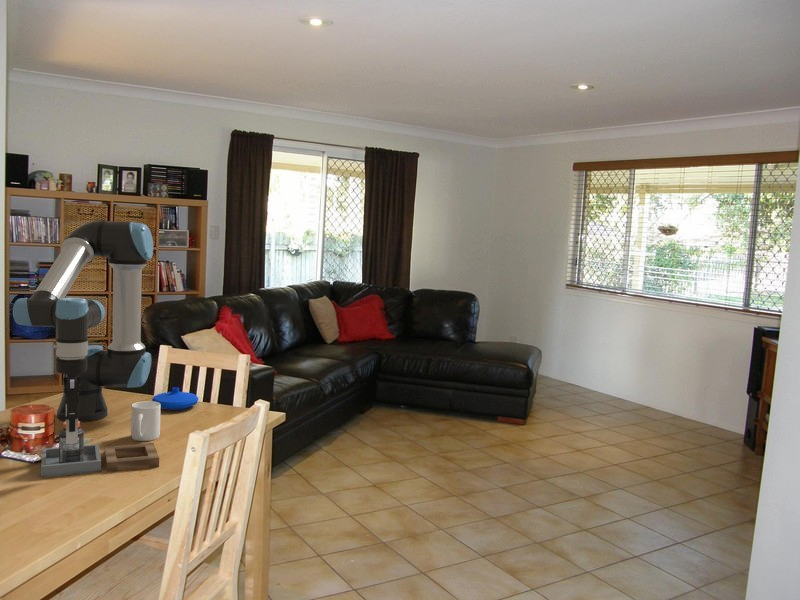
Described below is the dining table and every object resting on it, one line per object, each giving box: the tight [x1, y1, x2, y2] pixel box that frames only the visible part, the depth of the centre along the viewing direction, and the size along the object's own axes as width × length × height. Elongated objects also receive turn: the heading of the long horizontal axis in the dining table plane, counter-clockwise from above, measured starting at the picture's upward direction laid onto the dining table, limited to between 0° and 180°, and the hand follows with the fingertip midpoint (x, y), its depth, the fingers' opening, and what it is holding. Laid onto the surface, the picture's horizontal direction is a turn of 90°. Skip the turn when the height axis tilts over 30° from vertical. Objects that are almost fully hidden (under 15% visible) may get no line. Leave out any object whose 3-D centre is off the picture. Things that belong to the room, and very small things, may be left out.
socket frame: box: [104, 442, 160, 473], centre depth 190 cm, size 16×13×2 cm
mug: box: [130, 400, 162, 442], centre depth 206 cm, size 12×8×10 cm
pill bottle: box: [58, 421, 85, 464], centre depth 182 cm, size 6×6×11 cm
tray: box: [40, 443, 102, 479], centre depth 182 cm, size 14×14×3 cm
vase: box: [151, 386, 199, 411], centre depth 242 cm, size 16×16×7 cm
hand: (71, 434), depth 182 cm, fingers open, 13 cm apart
